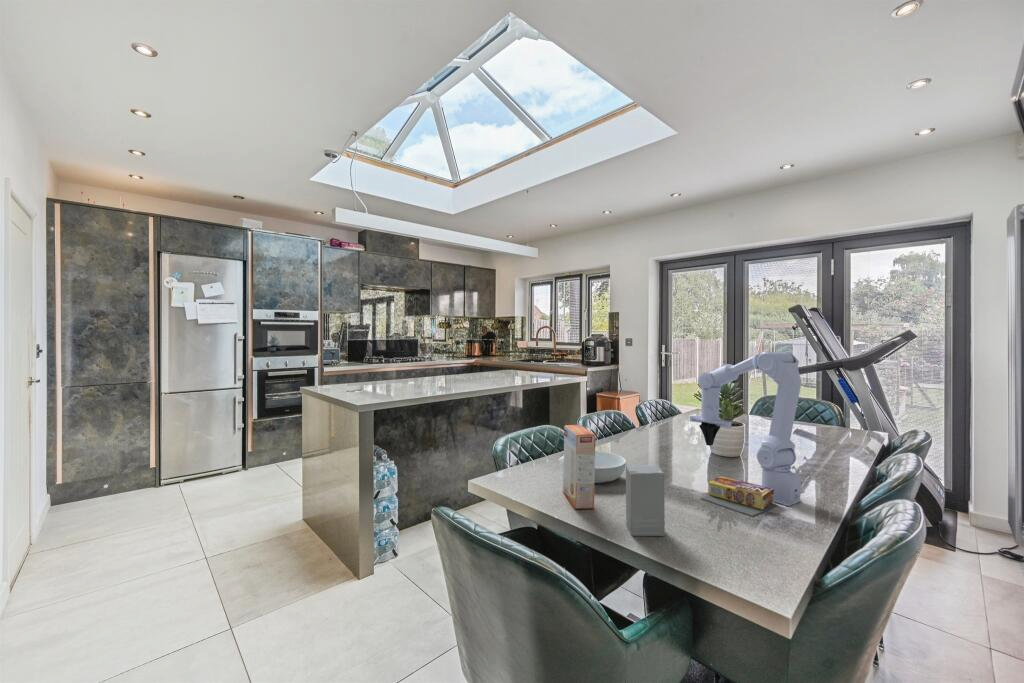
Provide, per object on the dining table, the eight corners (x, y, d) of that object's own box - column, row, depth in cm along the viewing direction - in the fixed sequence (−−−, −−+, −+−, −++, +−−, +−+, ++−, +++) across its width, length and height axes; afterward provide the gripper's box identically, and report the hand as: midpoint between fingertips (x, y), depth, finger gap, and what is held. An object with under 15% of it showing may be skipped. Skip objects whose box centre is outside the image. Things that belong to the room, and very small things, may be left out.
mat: (778, 506, 124) (778, 505, 124) (752, 516, 116) (752, 515, 116) (727, 490, 136) (727, 489, 136) (701, 498, 128) (701, 497, 128)
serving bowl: (560, 468, 157) (561, 449, 157) (618, 470, 156) (619, 451, 156) (565, 488, 136) (566, 466, 136) (632, 490, 135) (632, 468, 135)
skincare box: (657, 525, 110) (658, 463, 109) (665, 538, 102) (666, 472, 102) (623, 524, 110) (624, 462, 110) (629, 537, 103) (630, 471, 103)
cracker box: (595, 509, 120) (596, 434, 120) (574, 510, 119) (575, 434, 119) (581, 491, 134) (582, 424, 133) (562, 492, 133) (563, 424, 133)
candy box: (707, 496, 131) (762, 510, 119) (707, 481, 131) (762, 494, 119) (720, 489, 137) (774, 502, 125) (720, 475, 137) (774, 487, 125)
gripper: (736, 408, 148) (736, 447, 148) (698, 402, 160) (697, 439, 160) (725, 410, 144) (724, 450, 144) (686, 404, 156) (685, 441, 156)
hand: (709, 444), depth 152 cm, fingers closed
